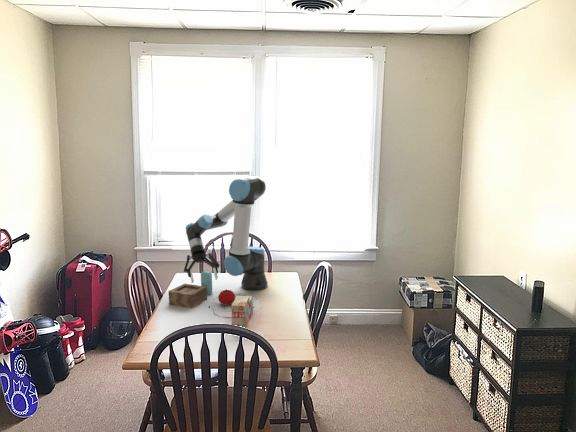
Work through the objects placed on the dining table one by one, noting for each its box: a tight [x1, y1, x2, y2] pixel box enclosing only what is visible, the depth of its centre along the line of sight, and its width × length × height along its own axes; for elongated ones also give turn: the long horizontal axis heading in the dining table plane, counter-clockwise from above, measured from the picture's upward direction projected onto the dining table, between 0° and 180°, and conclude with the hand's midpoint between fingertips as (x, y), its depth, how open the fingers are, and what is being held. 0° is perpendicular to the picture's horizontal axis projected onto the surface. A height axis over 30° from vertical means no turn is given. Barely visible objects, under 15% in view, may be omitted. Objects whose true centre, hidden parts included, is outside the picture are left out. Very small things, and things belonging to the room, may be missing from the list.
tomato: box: [217, 288, 236, 306], centre depth 261 cm, size 9×9×8 cm
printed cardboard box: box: [231, 295, 254, 329], centre depth 238 cm, size 21×6×12 cm, turn 174°
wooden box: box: [168, 283, 208, 309], centre depth 264 cm, size 14×14×7 cm
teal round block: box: [200, 270, 213, 296], centre depth 278 cm, size 6×6×12 cm
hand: (204, 280), depth 278 cm, fingers open, 13 cm apart
